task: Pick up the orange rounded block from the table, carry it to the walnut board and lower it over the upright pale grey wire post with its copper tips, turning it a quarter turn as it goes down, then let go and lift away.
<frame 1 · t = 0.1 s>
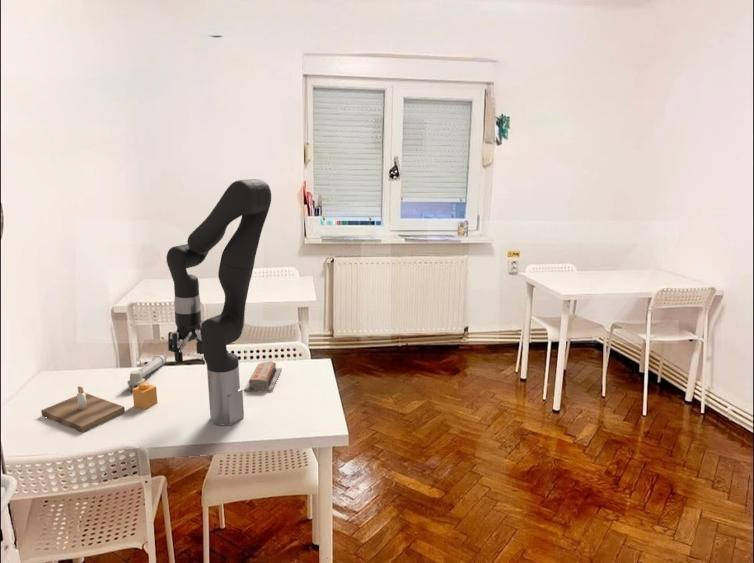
hand: (190, 358, 165), 17 cm above the table, tool pointing down, fingers open, 8 cm apart
gray handled tool: (148, 377, 192), on the table
packaged product: (264, 382, 190), on the table
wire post: (81, 397, 163), on the board, point 6 cm above the table
orange rounded block: (145, 404, 171), on the table
board: (83, 414, 164), on the table
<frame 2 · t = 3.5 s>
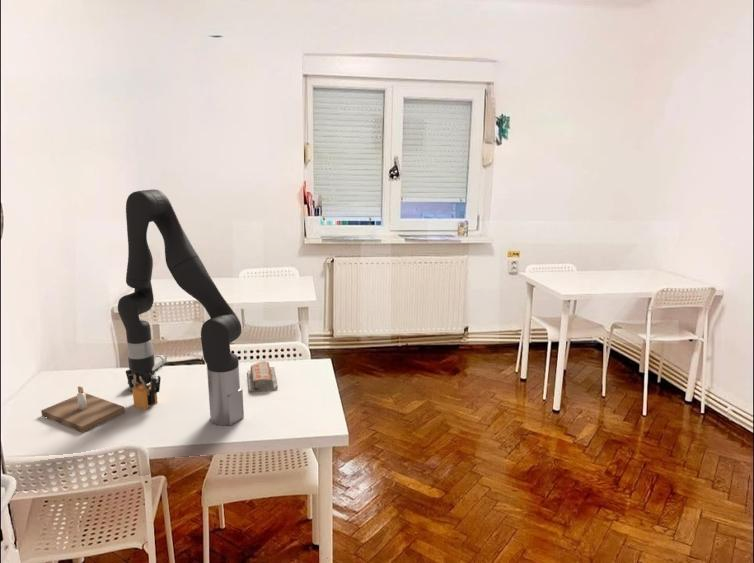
hand: (145, 402, 171), 1 cm above the table, tool pointing down, fingers closed on orange rounded block, 5 cm apart
orange rounded block: (145, 404, 171), on the table, touching gripper
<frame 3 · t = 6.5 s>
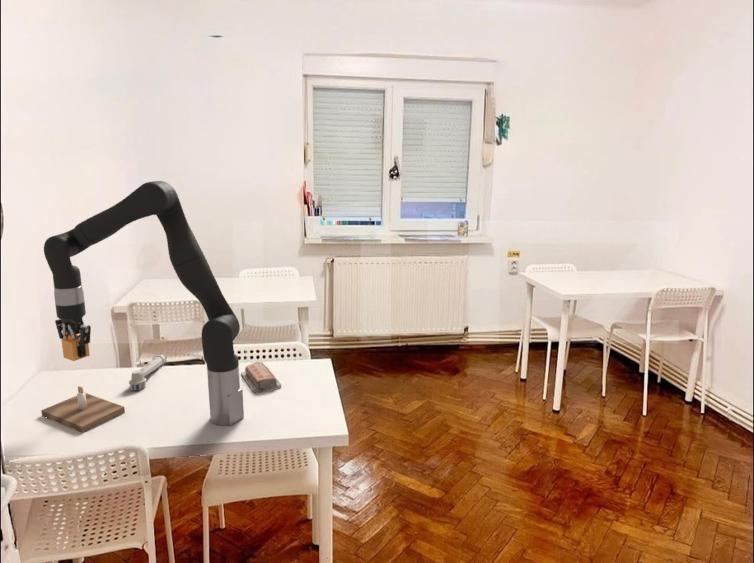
hand: (76, 354, 160), 20 cm above the table, tool pointing down, fingers closed on orange rounded block, 5 cm apart
orange rounded block: (76, 356, 160), point 19 cm above the table, touching gripper
when the fingers open (6 cm above the table, at t = 9.8 s): orange rounded block drops 1 cm, resting on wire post.
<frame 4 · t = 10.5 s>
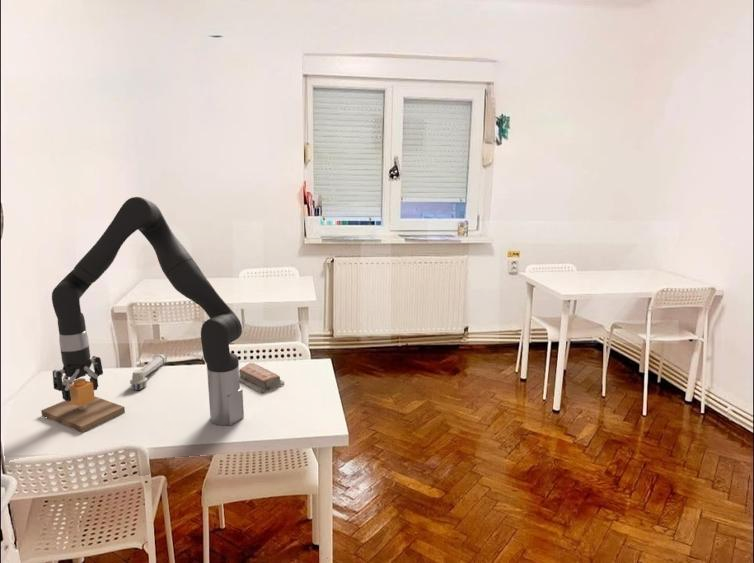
hand: (81, 395, 163), 7 cm above the table, tool pointing down, fingers open, 8 cm apart
orange rounded block: (82, 401, 163), point 4 cm above the table, touching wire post
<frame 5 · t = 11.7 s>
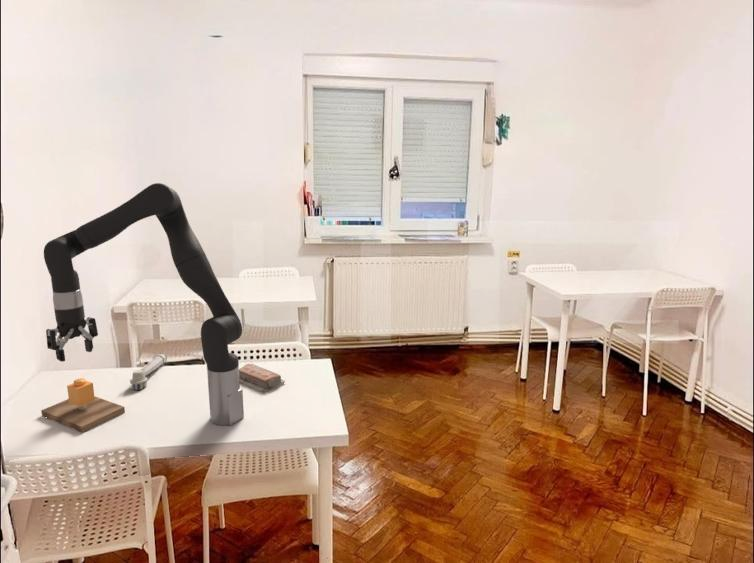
hand: (75, 356, 159), 20 cm above the table, tool pointing down, fingers open, 8 cm apart
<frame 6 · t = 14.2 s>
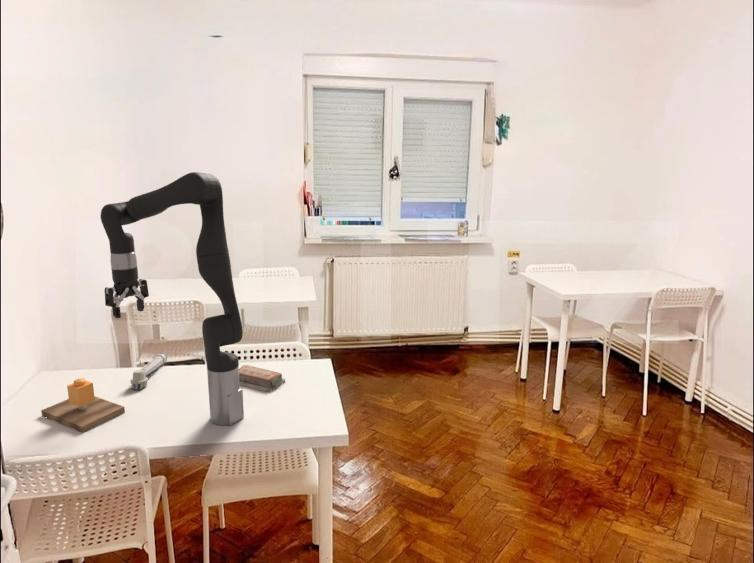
hand: (129, 314, 172), 28 cm above the table, tool pointing down, fingers open, 8 cm apart
at the end: orange rounded block 0.1 cm off-centre on the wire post, point 4.4 cm above the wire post's base; orange rounded block tilted 1°; the gripper is holding nothing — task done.
